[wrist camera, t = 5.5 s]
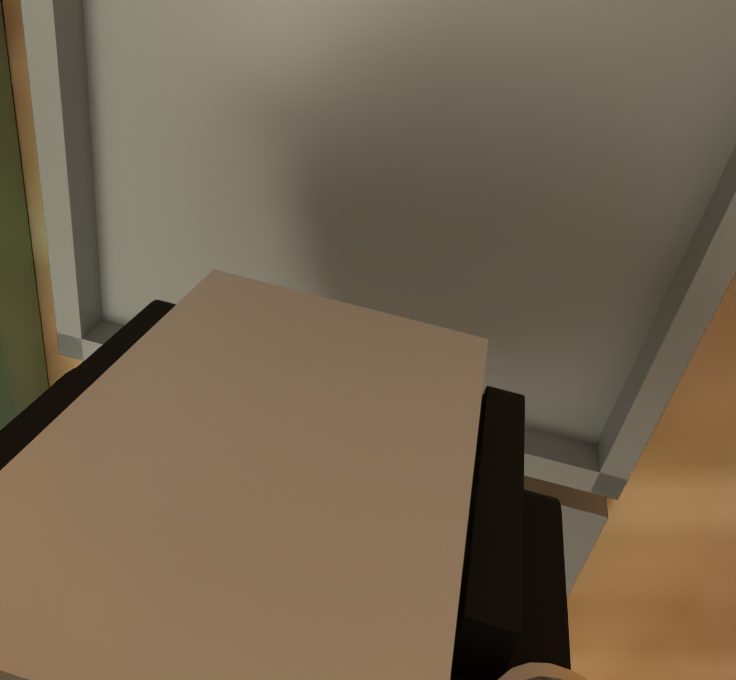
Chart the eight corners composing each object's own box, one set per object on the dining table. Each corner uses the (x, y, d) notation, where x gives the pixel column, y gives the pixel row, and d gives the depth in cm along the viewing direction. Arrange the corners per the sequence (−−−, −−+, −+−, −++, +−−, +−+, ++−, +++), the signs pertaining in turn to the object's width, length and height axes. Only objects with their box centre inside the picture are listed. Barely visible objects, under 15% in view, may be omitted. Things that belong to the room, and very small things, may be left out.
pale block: (488, 339, 9) (434, 811, 4) (426, 540, 11) (338, 1025, 6) (213, 269, 10) (-157, 618, 4) (202, 476, 12) (-60, 880, 6)
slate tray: (1180, -654, 7) (1358, -811, 6) (450, 801, 25) (446, 856, 24) (-9, -787, 8) (-130, -950, 7) (114, 699, 26) (89, 745, 25)
